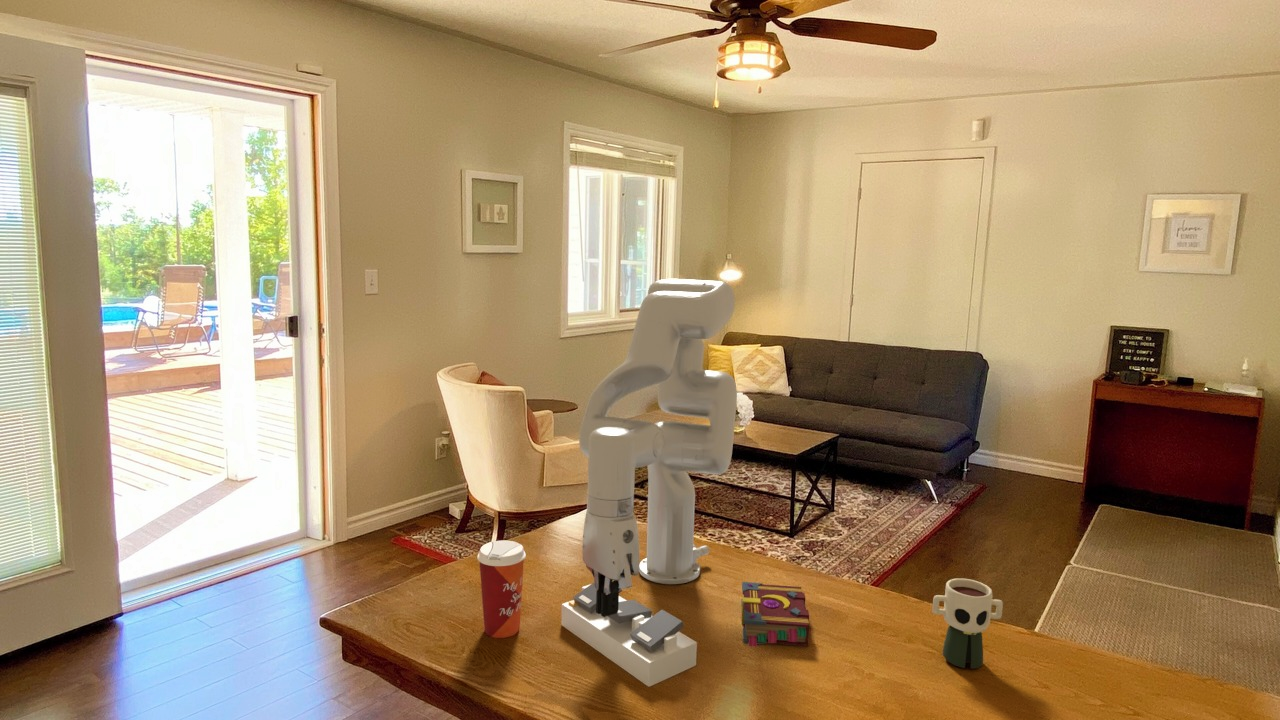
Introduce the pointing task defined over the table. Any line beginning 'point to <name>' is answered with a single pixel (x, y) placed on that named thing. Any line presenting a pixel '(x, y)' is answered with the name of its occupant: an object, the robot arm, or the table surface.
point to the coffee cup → (501, 586)
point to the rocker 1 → (587, 598)
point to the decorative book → (774, 615)
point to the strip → (630, 644)
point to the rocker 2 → (656, 630)
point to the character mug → (966, 619)
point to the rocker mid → (630, 611)
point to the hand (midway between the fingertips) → (607, 612)
